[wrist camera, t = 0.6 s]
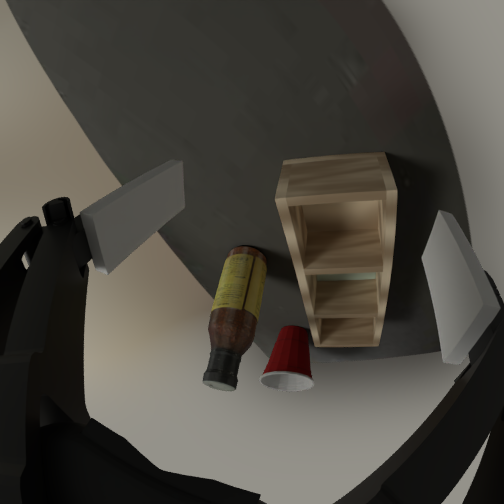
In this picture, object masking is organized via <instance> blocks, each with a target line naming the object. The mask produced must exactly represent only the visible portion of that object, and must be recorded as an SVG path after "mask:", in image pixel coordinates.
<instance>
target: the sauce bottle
mask: <svg viewBox="0 0 504 504" xmlns="http://www.w3.org/2000/svg"><path fill="white" fill-rule="evenodd" d="M266 261H267V260H266V257H265V256H264V255H263V254H262V253H261V252H260V251H258V250H257V249H255V248H252V247H247V246H240V247H235V248H234V249H232V250H231V251H230V252H229V254H228V256H227V259H226V261H225V264H224V267H223V271H222V274H221V278H220V282H219V286H218V289H217V293H216V296H215V300H214V304H213V307H212V311H211V315H210V322H209V327H208V331H209V335H210V342H211V353H210V359H209V364H208V367H207V370H206V372H205V373H204V376H203V383H204V384H205V385H207V386H209V387H211V388H214V389H218V390H223V391H234V390H235V389H236V386H237V382H238V379H237V374H238V369H239V364H240V362H241V356H242V355H243V354H244V353H245V352H246V351H247V350H248V349H249V348H250V346H251V344H252V342H253V340H254V336H255V329H256V325H257V323H258V317H259V311H260V306H261V300H262V294H263V289H264V283H265V278H266V272H267V268H266V265H267V263H266Z"/></svg>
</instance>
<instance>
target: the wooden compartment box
mask: <svg viewBox="0 0 504 504" xmlns="http://www.w3.org/2000/svg"><path fill="white" fill-rule="evenodd" d="M275 201H276V205H277V208H278V211H279V215H280V218H281V222H282V225H283V229H284V232H285V236H286V239H287V243H288V246H289V250H290V253H291V257H292V261H293V264H294V268H295V272H296V275H297V279H298V283H299V286H300V290H301V294H302V298H303V302H304V305H305V309H306V313H307V317H308V321H309V325H310V329H311V333H312V337H313V341H314V345H315V347H368V346H379V341H380V337H381V332H382V327H383V321H384V316H385V310H386V304H387V298H388V292H389V285H390V277H391V270H392V261H393V252H394V241H395V229H396V213H397V187H396V184H395V181H394V178H393V175H392V172H391V169H390V166H389V163H388V160H387V157H386V155H385V152H371V153H355V154H341V155H329V156H319V157H309V158H300V159H291V160H284V161H283V166H282V170H281V174H280V179H279V183H278V187H277V191H276V196H275Z"/></svg>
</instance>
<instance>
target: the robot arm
mask: <svg viewBox="0 0 504 504" xmlns="http://www.w3.org/2000/svg"><path fill="white" fill-rule="evenodd" d="M184 208H185V197H184V180H183V161H178V160H169V161H168V162H166V163H164V164H162V165H160V166H158V167H156V168H154V169H152V170H150V171H148V172H147V173H145V174H143V175H141V176H139V177H137V178H136V179H134V180H132V181H130V182H129V183H127V184H125V185H123V186H122V187H120V188H118V189H116V190H115V191H113V192H111V193H110V194H108V195H106V196H105V197H103V198H102V199H100V200H98V201H97V202H95V203H94V204H92V205H90V206H89V207H87V208H86V209H84V210H83V211H81V212H80V215H78V216H77V217H75V218H74V215H73V211H72V207H71V203H70V199H69V198H68V197H61V198H56V199H53V200H51V201H49V202H47V203H46V204H44V206H43V207H42V210H43V213H44V217H45V220H46V224H47V226H43V227H41V224H40V220H39V218H38V217H36V216H33V217H27V218H25V219H23V220H22V221H21V222H19V224H17V225H16V226H15V228H14V229H13V230H12V231H11V232H10V233H9V234H8V235H7V237H6V238H5V239H4V240H3V241H2V242H1V244H0V504H266V503H264V502H263V501H261V500H259V498H260V494H257V493H253V492H250V491H246V490H243V489H240V488H236V487H233V486H230V485H227V484H224V483H221V482H219V481H216V480H213V479H205V478H199V477H193V476H187V475H182V474H177V473H171V472H167V471H163V470H161V469H159V468H158V467H156V466H155V465H154V464H152V463H151V462H150V461H149V460H148V459H147V458H146V457H145V456H143V455H142V454H141V453H140V452H139V451H138V450H137V449H136V448H135V447H134V446H132V445H131V444H130V443H129V442H128V441H127V440H126V439H125V438H124V437H122V436H120V435H118V434H117V433H115V432H113V431H112V430H110V429H109V428H107V427H105V426H104V425H102V424H101V423H99V422H98V421H96V420H95V419H93V418H90V416H89V413H88V411H87V409H86V405H85V394H84V360H83V359H84V324H85V307H86V295H87V285H88V276H89V267H88V264H87V263H88V262H89V261H90V260H91V259H93V263H94V266H95V269H96V270H97V271H99V272H102V273H105V274H107V275H108V274H109V273H110V272H112V271H113V270H114V269H115V268H116V267H117V266H118V265H119V264H120V263H121V262H122V261H123V260H125V259H126V258H127V257H128V256H129V255H130V254H131V253H132V252H133V251H134V250H136V249H137V248H138V247H139V246H140V245H141V244H142V243H143V242H145V241H146V240H147V239H148V238H149V237H150V236H151V235H153V234H154V233H155V232H156V231H157V230H159V229H160V228H161V227H162V226H163V225H164V224H166V223H167V222H168V221H169V220H170V219H172V218H173V217H174V216H175V215H176V214H178V213H179V212H180V211H181V210H182V209H184ZM23 254H24V255H25V257H26V260H27V262H28V265H29V267H28V269H27V270H26V269H25V267H24V264H23V262H22V256H23ZM422 262H423V265H424V269H425V273H426V277H427V280H428V284H429V289H430V293H431V297H432V302H433V306H434V311H435V316H436V321H437V327H438V332H439V338H440V345H441V351H442V359H443V363H450V364H457V365H460V363H461V362H462V361H463V360H464V358H465V357H466V356H467V355H468V354H469V358H470V363H469V365H468V366H467V367H466V368H465V369H464V370H463V371H462V373H461V374H460V375H459V376H458V377H457V378H456V379H455V380H454V382H455V384H454V385H453V386H452V388H451V389H450V391H449V392H448V393H447V394H446V396H445V397H444V398H443V400H442V401H441V402H440V403H439V405H438V406H437V407H436V408H435V409H434V411H433V412H432V413H431V414H430V415H429V417H428V418H427V419H426V420H425V421H424V422H423V424H422V425H421V426H420V427H419V428H418V429H417V430H416V431H415V432H414V433H413V435H412V436H411V437H410V438H409V439H408V440H407V441H406V442H405V443H404V444H403V445H402V446H401V447H400V448H399V449H398V450H397V451H396V452H395V453H394V454H393V455H392V456H391V457H390V458H389V459H388V460H387V461H385V462H384V463H383V464H382V465H381V466H380V467H379V468H378V469H377V470H376V471H374V472H373V473H372V474H371V475H370V476H369V477H367V478H366V479H365V480H364V481H363V482H361V483H360V484H359V485H358V486H356V487H355V488H354V489H353V490H352V491H350V492H349V493H348V494H346V495H345V496H343V497H342V498H341V499H339V500H338V501H336V502H335V503H333V504H441V503H442V502H443V501H444V500H445V499H446V497H447V496H448V495H449V493H450V492H451V491H452V490H453V488H454V487H455V486H456V484H457V483H458V482H459V480H460V479H461V478H462V476H463V474H464V473H465V472H466V470H467V469H468V467H469V466H470V464H471V463H472V461H473V460H474V458H475V456H476V455H477V454H478V452H479V450H480V449H481V447H482V445H483V444H484V442H485V440H486V438H487V437H488V435H489V433H490V436H489V439H488V442H487V445H486V448H485V451H484V453H483V456H482V459H481V462H480V464H479V467H478V469H477V472H476V474H475V477H474V479H473V482H472V484H471V486H470V489H469V490H468V493H467V495H466V497H465V499H464V501H463V503H462V504H504V303H503V300H502V298H501V296H500V294H499V291H498V290H497V287H496V285H495V283H494V281H493V279H492V278H491V276H490V275H489V274H488V273H487V272H486V271H485V270H483V268H482V266H481V264H480V262H479V260H478V258H477V256H476V255H475V253H474V251H473V249H472V247H471V245H470V243H469V242H468V240H467V238H466V236H465V235H464V233H463V231H462V230H461V228H460V226H459V225H458V223H457V221H456V220H455V218H454V216H453V215H452V214H451V213H447V212H444V211H441V210H439V211H438V214H437V217H436V220H435V223H434V226H433V229H432V232H431V234H430V237H429V240H428V242H427V245H426V248H425V250H424V253H423V255H422ZM490 431H491V432H490Z"/></svg>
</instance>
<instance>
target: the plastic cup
mask: <svg viewBox="0 0 504 504" xmlns="http://www.w3.org/2000/svg"><path fill="white" fill-rule="evenodd" d="M259 382H260V383H261V384H262V385H264V386H266V387H268V388H271V389H274V390H279V391H290V392H293V391H304V390H307V389H310V388H312V387H313V386H314V385H315V383H314V380H313V379H312V375H311V370H310V353H309V344H308V334H307V331H306V330H305V329H304V328H301V327H298V326H286V327H283V328H282V329H281V331H280V333H279V336H278V339H277V341H276V343H275V346H274V348H273V351H272V354H271V356H270V359H269V362H268V364H267V366H266V369H265V370H264V373H263V375H261V377H260V379H259Z"/></svg>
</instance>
